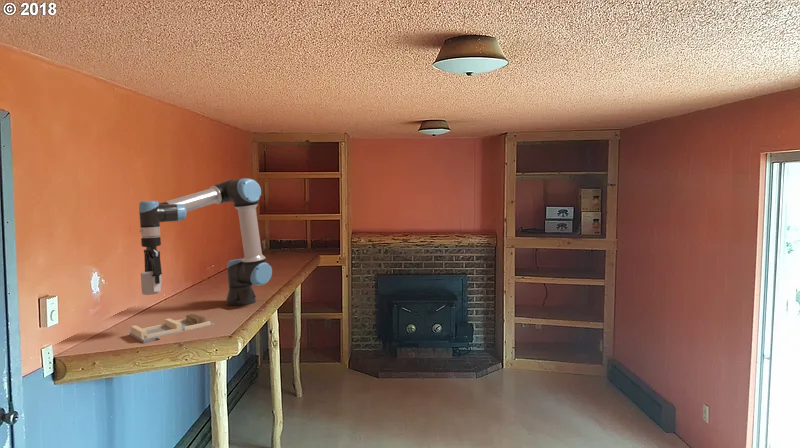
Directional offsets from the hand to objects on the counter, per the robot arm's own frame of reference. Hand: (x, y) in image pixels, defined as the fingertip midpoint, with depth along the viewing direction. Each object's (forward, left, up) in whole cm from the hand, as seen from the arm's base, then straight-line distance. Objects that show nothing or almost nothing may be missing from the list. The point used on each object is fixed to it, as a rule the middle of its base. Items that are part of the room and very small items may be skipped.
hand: (154, 289), depth 226 cm
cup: (0, -1, -1) cm, 2 cm away
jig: (-5, +5, -18) cm, 19 cm away
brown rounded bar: (-15, +5, -17) cm, 23 cm away
